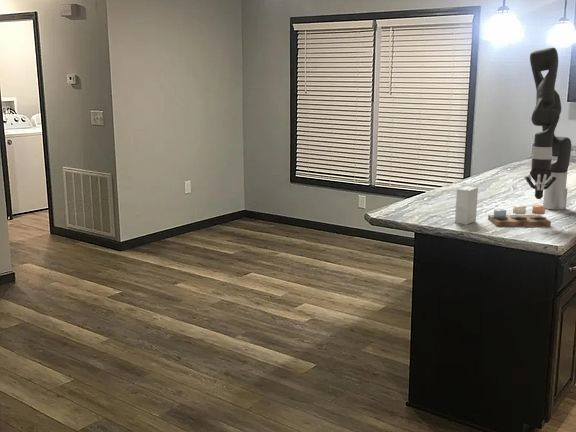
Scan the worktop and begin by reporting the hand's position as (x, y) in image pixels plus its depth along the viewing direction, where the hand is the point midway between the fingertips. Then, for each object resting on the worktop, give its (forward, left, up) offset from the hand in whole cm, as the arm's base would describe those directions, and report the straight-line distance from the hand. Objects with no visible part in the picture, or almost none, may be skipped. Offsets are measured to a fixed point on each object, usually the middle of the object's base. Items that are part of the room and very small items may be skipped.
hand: (538, 198), depth 274 cm
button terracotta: (0, 0, -6) cm, 6 cm away
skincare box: (+30, -1, -11) cm, 31 cm away
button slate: (+16, 0, -8) cm, 17 cm away
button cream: (+8, 0, -6) cm, 10 cm away
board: (+8, 0, -10) cm, 13 cm away
